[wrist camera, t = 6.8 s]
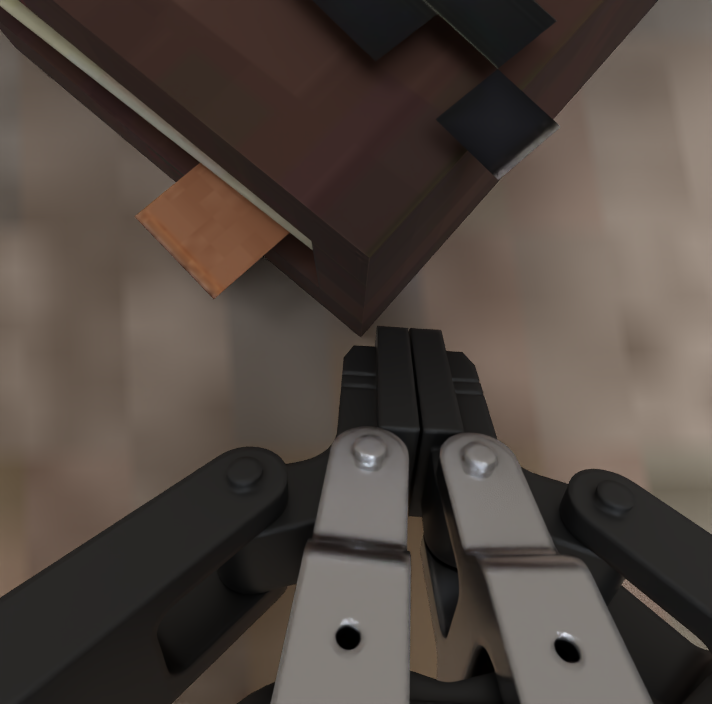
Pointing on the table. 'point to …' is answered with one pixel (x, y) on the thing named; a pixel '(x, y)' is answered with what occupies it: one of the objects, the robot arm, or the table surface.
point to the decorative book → (321, 120)
